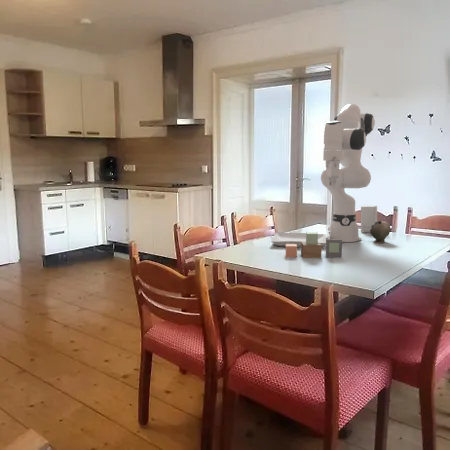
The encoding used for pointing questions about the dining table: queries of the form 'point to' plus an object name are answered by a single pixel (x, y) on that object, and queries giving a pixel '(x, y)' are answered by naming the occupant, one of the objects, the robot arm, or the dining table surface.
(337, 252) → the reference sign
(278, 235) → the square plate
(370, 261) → the dining table surface
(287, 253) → the terracotta cube
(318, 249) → the walnut block
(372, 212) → the skincare box
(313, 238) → the sage green cube
